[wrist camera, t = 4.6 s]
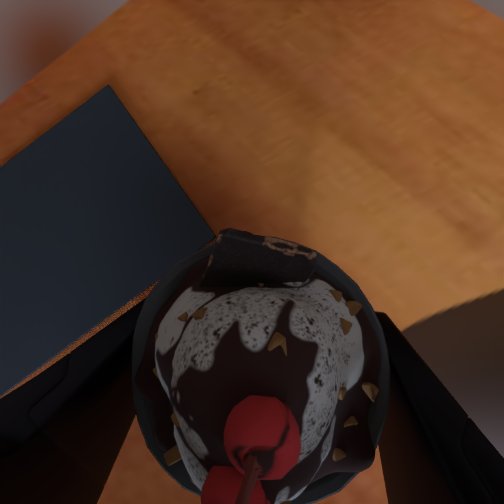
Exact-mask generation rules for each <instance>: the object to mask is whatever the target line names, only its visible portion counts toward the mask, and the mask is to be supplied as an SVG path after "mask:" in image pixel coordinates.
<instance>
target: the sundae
mask: <svg viewBox="0 0 504 504" xmlns="http://www.w3.org/2000/svg"><path fill="white" fill-rule="evenodd" d="M132 392H133V402H134V406H135V411H136V415H137V419H138V423H139V426H140V428H141V431H142V434H143V436H144V439H145V442H146V445H147V447H148V449H149V450H150V451H151V453H152V454H153V456H154V457H155V458H156V460H157V461H158V462H159V464H160V465H161V467H162V468H163V469H164V470H165V471H166V472H167V473H168V474H169V475H170V476H171V477H172V478H173V479H174V480H175V481H176V482H177V483H178V484H179V485H181V486H182V487H183V488H184V489H186V490H188V491H190V492H192V493H194V494H197V495H199V496H201V503H202V504H311V503H315V502H318V501H320V500H322V499H324V498H326V497H328V496H331V495H333V494H335V493H337V492H339V491H341V490H342V489H343V488H344V487H345V486H346V485H347V484H348V483H349V482H350V481H351V480H352V479H353V478H354V477H355V476H356V475H357V474H358V473H359V472H361V471H363V470H365V469H367V468H369V467H370V466H371V465H372V463H373V461H374V458H375V449H376V448H377V445H378V442H379V439H380V436H381V433H382V430H383V427H384V423H385V420H386V416H387V410H388V405H389V400H390V365H389V357H388V349H387V345H386V341H385V337H384V333H383V329H382V326H381V324H380V322H379V320H378V318H377V316H376V314H375V312H374V310H373V308H372V306H371V304H370V303H369V301H368V300H367V298H366V297H365V295H364V294H363V292H362V291H361V289H360V287H359V286H358V284H357V283H356V282H354V281H353V280H352V279H351V278H350V277H349V276H348V275H347V274H346V273H345V272H344V271H343V270H341V269H340V268H339V267H338V266H337V265H336V264H334V263H333V262H331V261H330V260H328V259H327V258H326V257H324V256H323V255H321V254H320V253H319V252H317V251H315V250H313V249H310V248H307V247H305V246H302V245H300V244H297V243H295V242H292V241H288V240H284V239H280V238H276V237H266V236H259V235H253V234H252V233H249V232H246V231H240V230H236V229H232V228H228V229H224V230H220V232H219V234H218V237H217V239H216V242H215V243H213V244H211V245H209V246H206V247H204V248H202V249H199V250H197V251H196V252H194V253H192V254H191V255H189V256H187V257H185V258H184V259H182V260H180V261H179V262H177V263H176V264H175V265H174V266H173V267H172V268H171V269H170V270H169V271H168V272H167V273H166V274H165V275H164V276H163V277H162V278H161V279H160V280H159V282H158V283H157V284H156V286H155V287H154V288H153V290H152V291H151V292H150V294H149V295H148V296H147V298H146V300H145V302H144V305H143V307H142V310H141V312H140V315H139V317H138V320H137V324H136V328H135V332H134V336H133V343H132Z"/></svg>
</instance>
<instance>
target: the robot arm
mask: <svg viewBox="0 0 504 504" xmlns="http://www.w3.org/2000/svg"><path fill="white" fill-rule="evenodd" d="M146 298H147V297H146ZM146 298H145V299H143V300H142V301H141V302H139V303H138V304H137V305H135V306H134V307H132V308H131V309H130V310H128V311H127V312H125V313H124V314H123V315H121V316H120V317H119V318H117V319H116V320H114V321H113V322H112V323H110V324H109V325H107V326H106V327H105V328H103V329H102V330H101V331H99V332H98V333H96V334H95V335H94V336H92V337H91V338H89V339H88V340H87V341H85V342H84V343H83V344H81V345H80V346H78V347H77V348H76V349H74V350H73V351H71V353H70V354H67V355H66V356H64V357H63V358H62V359H60V360H59V361H57V362H56V363H55V364H53V365H52V366H50V367H49V368H47V369H46V370H44V371H43V372H42V373H40V374H39V375H37V376H36V377H34V378H32V379H31V380H29V381H28V382H26V383H25V384H23V385H22V386H20V387H18V388H17V389H15V390H14V391H12V392H10V393H9V394H7V395H6V396H4V397H2V398H1V399H0V504H97V502H98V500H99V498H100V495H101V493H102V491H103V489H104V485H105V484H106V481H107V479H108V477H109V474H110V472H111V470H112V468H113V465H114V463H115V461H116V459H117V456H118V454H119V452H120V449H121V447H122V445H123V443H124V440H125V438H126V436H127V433H128V431H129V429H130V427H131V424H132V422H133V420H134V418H135V415H136V411H135V406H134V402H133V392H132V343H133V336H134V332H135V328H136V324H137V320H138V317H139V315H140V312H141V310H142V307H143V305H144V302H145V300H146ZM374 312H375V311H374ZM375 314H376V316H377V318H378V320H379V322H380V324H381V326H382V329H383V333H384V337H385V341H386V345H387V349H388V357H389V365H390V400H389V405H388V410H387V416H386V420H385V423H384V427H383V430H382V433H381V436H380V439H379V442H378V446H379V452H380V458H381V464H382V469H383V475H384V481H385V487H386V493H387V498H388V504H504V458H503V457H502V456H501V455H500V454H499V452H498V451H497V450H496V449H495V447H494V446H493V445H492V444H491V443H490V442H489V440H488V439H487V438H486V437H485V436H484V434H483V433H482V432H481V431H480V429H478V427H477V426H476V425H475V423H474V422H473V421H472V420H471V419H470V418H468V415H467V413H466V412H465V411H464V410H463V408H462V407H461V406H460V405H459V404H458V402H457V401H456V400H455V399H454V397H453V396H452V395H451V394H450V392H449V391H448V390H447V389H446V387H445V386H444V385H443V384H442V383H441V381H440V380H439V379H438V377H437V376H436V375H435V374H434V373H433V372H432V370H431V369H430V368H429V366H428V365H427V364H426V363H425V361H424V360H423V359H422V358H421V357H420V355H419V354H418V353H417V352H416V350H415V349H414V348H413V347H412V345H411V344H410V343H409V342H408V340H407V339H406V338H405V337H404V335H403V334H402V333H401V332H400V330H399V329H398V328H397V327H396V325H395V324H394V323H393V322H392V320H391V319H390V318H389V317H388V316H387V314H385V313H383V312H375Z"/></svg>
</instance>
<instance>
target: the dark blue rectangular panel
mask: <svg viewBox="0 0 504 504" xmlns="http://www.w3.org/2000/svg"><path fill="white" fill-rule="evenodd" d="M215 237H216V236H215V235H214V233H213V232H212V230H211V229H210V228H209V226H208V225H207V223H206V222H205V221H204V219H203V218H202V216H201V215H200V213H199V212H198V211H197V209H196V208H195V206H194V205H193V203H192V202H191V201H190V199H189V198H188V196H187V195H186V194H185V192H184V191H183V189H182V188H181V186H180V185H179V184H178V182H177V181H176V179H175V178H174V177H173V175H172V174H171V172H170V171H169V169H168V168H167V167H166V165H165V164H164V162H163V161H162V160H161V158H160V157H159V155H158V154H157V152H156V151H155V150H154V148H153V147H152V145H151V144H150V143H149V141H148V140H147V138H146V137H145V135H144V134H143V133H142V131H141V130H140V128H139V127H138V126H137V124H136V123H135V121H134V120H133V118H132V117H131V116H130V114H129V113H128V111H127V110H126V108H125V107H124V106H123V104H122V103H121V101H120V100H119V99H118V97H117V96H116V94H115V93H114V91H113V90H112V89H111V87H110V86H109V85H107V86H106V87H104V88H103V89H102V90H100V91H99V92H98V93H96V94H95V95H94V96H93V97H91V98H90V99H89V100H87V101H86V102H85V103H83V104H82V105H81V106H80V107H78V108H77V109H76V110H74V111H73V112H72V113H70V114H69V115H68V116H67V117H65V118H64V119H63V120H61V121H60V122H59V123H57V124H56V125H55V126H54V127H52V128H51V129H50V130H48V131H47V132H46V133H45V134H43V135H42V136H41V137H39V138H38V139H37V140H35V141H34V142H33V143H32V144H30V145H29V146H28V147H26V148H25V149H24V150H22V151H21V152H20V153H19V154H17V155H16V156H15V157H13V158H12V159H11V160H9V161H8V162H7V163H6V164H4V165H3V166H2V167H0V397H1V396H2V395H3V394H5V393H6V392H7V391H9V390H10V389H11V388H13V387H14V386H16V385H17V384H18V383H20V382H21V381H22V380H24V379H25V378H26V377H28V376H29V375H30V374H32V373H33V372H34V371H36V370H37V369H38V368H40V367H41V366H43V365H44V364H45V363H47V362H48V361H49V360H51V359H52V358H53V357H55V356H56V355H57V354H59V353H60V352H61V351H63V350H64V349H65V348H67V347H68V346H70V345H71V344H72V343H74V342H75V341H76V340H78V339H79V338H80V337H82V336H83V335H84V334H86V333H87V332H88V331H90V330H91V329H93V328H94V327H95V326H97V325H98V324H99V323H101V322H102V321H103V320H105V319H106V318H107V317H109V316H110V315H111V314H113V313H114V312H115V311H117V310H118V309H120V308H121V307H122V306H124V305H125V304H126V303H128V302H129V301H130V300H132V299H133V298H134V297H136V296H137V295H138V294H140V293H141V292H142V291H144V290H145V289H147V288H148V287H149V286H151V285H152V284H153V283H155V282H156V281H157V280H159V279H160V278H161V277H163V276H164V275H165V274H166V273H167V272H168V271H169V270H170V269H171V268H172V267H173V266H174V265H175V264H176V263H177V262H179V261H180V260H182V259H184V258H185V257H187V256H189V255H191V254H192V253H194V252H196V251H197V250H199V249H201V248H202V247H203V246H205V245H206V244H207V243H209V242H210V241H211V240H213V239H214V238H215Z"/></svg>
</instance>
